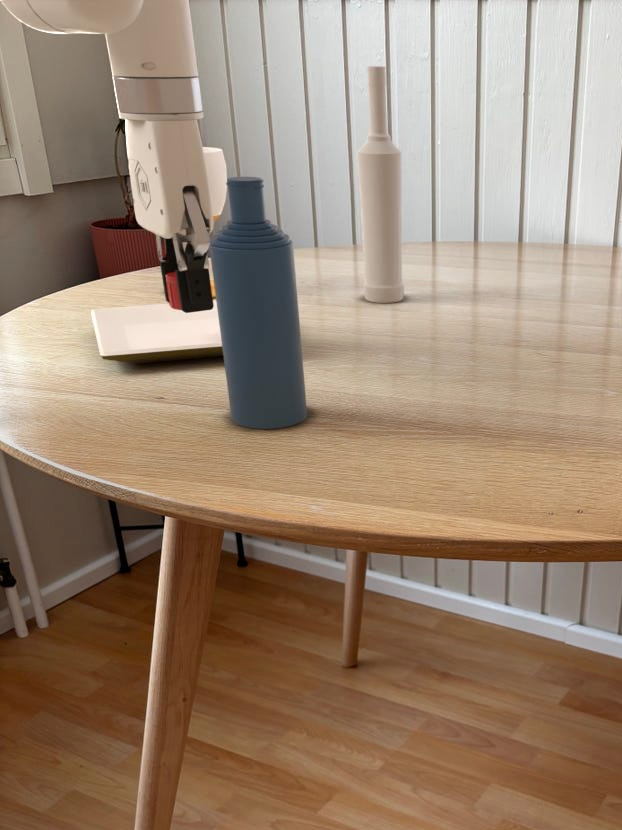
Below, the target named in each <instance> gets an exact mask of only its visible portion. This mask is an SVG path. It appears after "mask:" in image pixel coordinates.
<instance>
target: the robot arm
mask: <svg viewBox="0 0 622 830" xmlns="http://www.w3.org/2000/svg"><path fill="white" fill-rule="evenodd" d="M0 2H1V4H2V5H3V6H4V7H5V9H6V10H7V11H8V12H9V13H10V14H11V15H12V16H13V17H14V18H16V19H17V20H18V21H19V22H21V23H23V24H24V25H26V26H27V27H29V28H32V29H34V30H37V31H40V32H44V33H49V34H57V35H58V34H60V35H77V34H95V35H97V34H98V35H103V34H104V36H105V41H106V47H107V50H108V51H107V53H108V58H109V64H110V69H111V73H112V74H111V76H112V82H113V88H114V93H115V100H116V105H117V111H118V118H119V119H121V120H125V121H124V122H125V123H124V125H125V127H124V128H125V141H126V142H125V143H126V153H127V163H128V172H129V178H130V186H131V194H132V201H133V202H132V203H133V211H134V214H135V220H136V222H137V224H138V225H139V226H140V227H141V228H143V229H144V230H146V231H148V232H150V233H152V234H154V238H155V240H156V248H157V255H158V259H159V261H160V262H159V266H160V272H161V279H162V285H163V291H164V292H163V293H164V298H165V301H166V302H167V304H169V299H168V292H167V286H166V274H167V273H170V272H175V273H176V279H177V286H178V292H179V299H180V305H181V310H182V311H183V312H185V313H191V312H198V311H206V310H212V309H213V307H214V305H213V301H214V298H212V290H211V283H210V281H211V276H210V270H209V269H210V263H209V262H210V261H209V257H208V256H209V255H208V252H209V249H210V248H209V243H210V242H211V238H210V236H209V235H210V234H211V233H212V231H213V230H214V226H215V222H213V209H212V201H211V193H210V187H209V180H208V174H207V168H206V163H205V157H204V152H203V147H204V146H203V142H202V137H201V132H200V128H199V123H198V120H202V119H204V118H205V117H204V111H203V101H202V93H201V86H200V78H199V69H198V61H197V54H196V46H195V38H194V31H193V23H192V15H191V8H190V0H0ZM187 230H189V233H190V234H187ZM189 242H190V243H189Z"/></svg>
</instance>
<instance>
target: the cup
mask: <svg viewBox="0 0 622 830" xmlns="http://www.w3.org/2000/svg"><path fill="white" fill-rule="evenodd" d="M202 147H203V152H204V157H205V163H206V168H207V174H208V180H209V187H210V193H211V201H212V209H213V222H214V223H215V222H216V221H217V220H218V218H219V217H220V216H221V215H222V213H223V210H224V206H225V203H226V199H227V192H228V186H227V185H226V183H227V179H228V172H227V171H228V170H227V163H226V159H225V155H224V150H223V149H222V148H218V147H209V146H202ZM210 283H211V290H212V298H213V299H216V295H215V287H214V280H210Z"/></svg>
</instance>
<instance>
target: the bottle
mask: <svg viewBox="0 0 622 830" xmlns="http://www.w3.org/2000/svg"><path fill="white" fill-rule="evenodd" d="M366 72H367V73H366V74H367V75H366V76H367V87H368V109H369V110H368V111H369V112H368V113H369V114H368V116H369V133H368V134H367V135H366V140H365V142H364V143H363V144H362V145H361V146H360V148H358V149H357V151H356V157H357V158H356V159H357V175H358V176H357V177H358V190H359V204H360V205H359V206H360V220H361V223H360V224H361V236H362V238H361V239H362V252H363V268H364V270H363V271H364V281H363V284H362V288H363V296H364V298H365V300H366V301H368V302H371V303H377V304H390V303H392V304H393V303H397V302H400V301H402V300H404V295H405V282H404V281H403V216H402V215H403V204H402V203H403V200H402V199H403V197H402V196H403V195H402V194H403V193H402V189H403V188H402V185H403V184H402V183H403V182H402V181H403V180H402V177H403V175H402V150H400V149H399V148H398V147H397V145H395V143H394V142H393V141H392V140H391V135H390V134H389V133H388V119H387V116H388V115H387V91H386V87H387V72H386V66H382V65H381V66H380V65H378V66H377V65H367V66H366Z"/></svg>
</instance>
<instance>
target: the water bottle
mask: <svg viewBox="0 0 622 830" xmlns="http://www.w3.org/2000/svg"><path fill="white" fill-rule="evenodd" d="M263 183H264V179H263V178H261V177H259V176H258V177H257V176H232V177H227V183H226V185H227V192H228V193H227V194H228V202H229V210H230V220H227V221H226V224H225V225H223V226H222V227H221V229H220V230H218V231H217V232H216V234H215V235H213V236H211V238H210V243H209V248H208V249H209V255H210V264H211V270H212V277H213V281H214V287H215V295H216V298H215V300H216V302H217V310H218V318H219V326H220V333H221V341H222V349H223V356H222V357H223V363H224V364H223V365H224V370H225V371H224V372H225V379H226V388H227V395H228V403H229V411H230V417H231V421H232V422H233V423H234V424H235V425H237V426H240V427H243V428H248V429H254V430H255V429H256V430H273V429H274V430H275V429H282V428H287V427H291V426H295V425H298V424H300V423H302V422H303V421H305V420H306V419H307V417H308V407H307V395H306V383H305V373H304V372H305V371H304V359H303V347H302V336H301V324H300V323H301V322H300V311H299V299H298V298H299V297H298V288H297V276H296V264H295V253H294V241H292V239H290V235H288V234H286V233H284V231H283V230H282V229H280V228H278V226H277V225H276V224H273V223H272V221H271V220H269V219H267V216H266V215H267V214H266V206H265V197H264V188H265V184H263Z"/></svg>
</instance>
